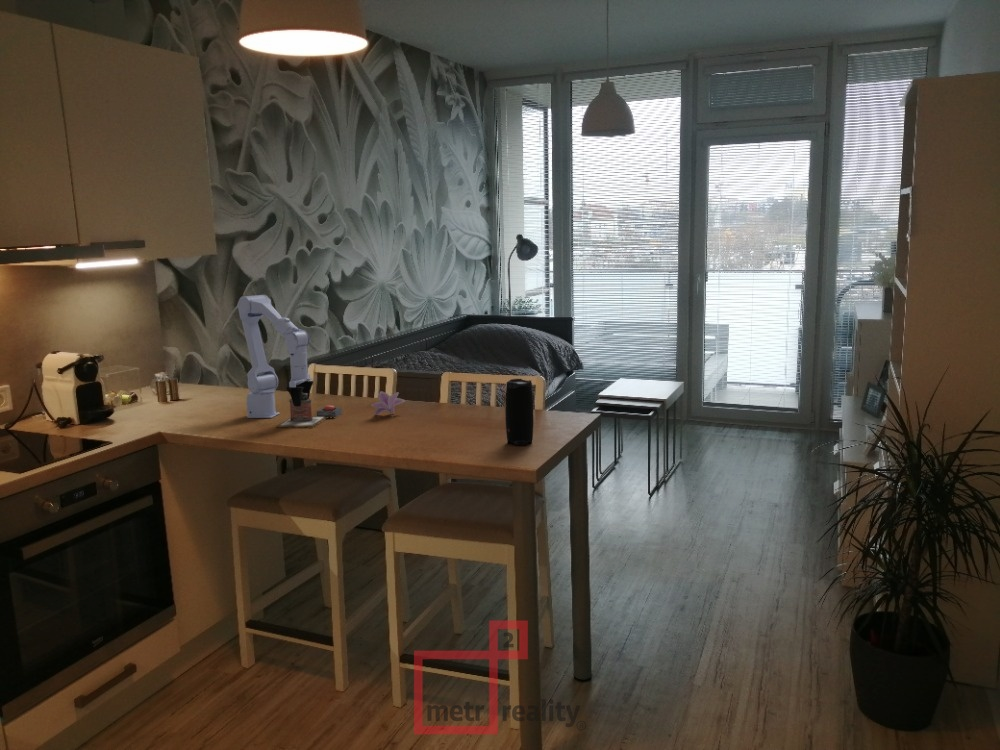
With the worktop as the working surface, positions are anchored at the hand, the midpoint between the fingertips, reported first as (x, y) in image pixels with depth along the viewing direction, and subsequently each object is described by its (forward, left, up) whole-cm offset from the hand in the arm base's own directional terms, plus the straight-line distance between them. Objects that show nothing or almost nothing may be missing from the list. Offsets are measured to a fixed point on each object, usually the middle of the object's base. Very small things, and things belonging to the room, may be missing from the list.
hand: (301, 403), depth 275 cm
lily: (+28, +11, -7) cm, 31 cm away
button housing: (+6, +11, -7) cm, 14 cm away
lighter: (0, 0, -6) cm, 6 cm away
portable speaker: (+79, -24, -7) cm, 83 cm away
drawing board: (0, 0, -7) cm, 7 cm away
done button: (+6, +11, -5) cm, 13 cm away
